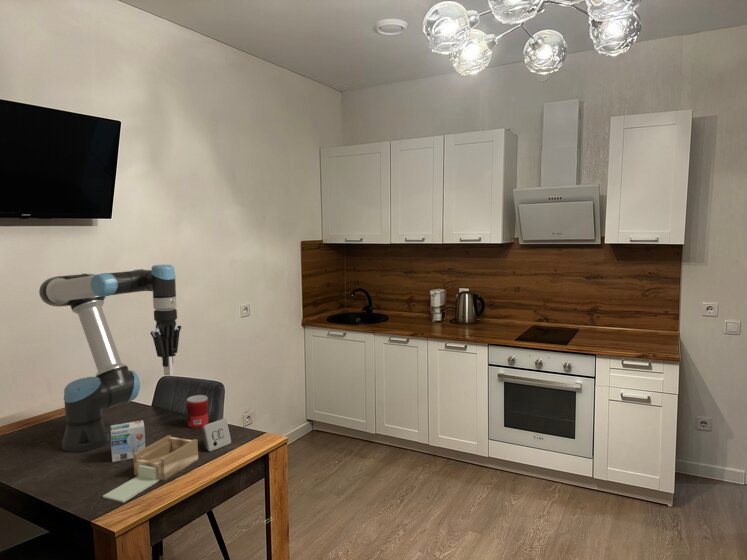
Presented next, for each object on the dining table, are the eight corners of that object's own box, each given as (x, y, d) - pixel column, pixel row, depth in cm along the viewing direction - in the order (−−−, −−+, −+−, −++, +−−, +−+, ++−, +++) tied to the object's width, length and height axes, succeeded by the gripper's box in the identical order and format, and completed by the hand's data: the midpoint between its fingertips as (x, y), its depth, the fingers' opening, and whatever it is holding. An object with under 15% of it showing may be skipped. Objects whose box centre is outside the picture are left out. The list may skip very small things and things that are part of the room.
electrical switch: (209, 452, 184) (206, 426, 183) (201, 450, 187) (198, 424, 187) (231, 444, 191) (229, 418, 191) (223, 441, 194) (221, 417, 194)
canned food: (212, 423, 211) (211, 396, 210) (196, 430, 204) (195, 402, 203) (200, 419, 215) (198, 393, 214) (183, 426, 208) (182, 399, 207)
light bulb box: (112, 462, 176) (110, 431, 175) (111, 455, 182) (109, 425, 181) (146, 456, 181) (144, 425, 180) (145, 448, 187) (143, 419, 186)
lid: (102, 499, 154) (101, 484, 153) (139, 477, 166) (139, 464, 166) (123, 504, 151) (122, 489, 150) (159, 481, 164) (159, 468, 163)
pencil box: (134, 475, 167) (133, 454, 166) (169, 454, 182) (168, 435, 181) (164, 480, 163) (163, 459, 162) (198, 459, 178) (197, 439, 177)
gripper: (160, 312, 177) (164, 380, 179) (186, 306, 189) (189, 370, 191) (142, 311, 179) (146, 378, 182) (169, 305, 191) (172, 369, 194)
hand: (168, 374), depth 186 cm, fingers closed
